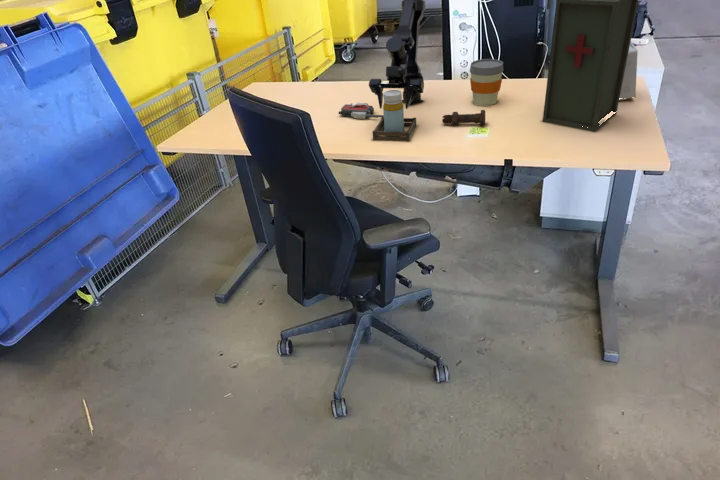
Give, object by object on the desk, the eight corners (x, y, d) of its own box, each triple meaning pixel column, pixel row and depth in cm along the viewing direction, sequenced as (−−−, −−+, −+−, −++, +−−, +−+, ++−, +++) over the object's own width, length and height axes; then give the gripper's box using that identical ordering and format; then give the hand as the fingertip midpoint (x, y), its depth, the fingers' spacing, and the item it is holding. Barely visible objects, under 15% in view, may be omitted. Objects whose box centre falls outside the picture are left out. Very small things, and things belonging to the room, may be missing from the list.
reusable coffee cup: (499, 108, 198) (502, 68, 190) (466, 107, 202) (467, 68, 193) (502, 96, 208) (505, 58, 199) (471, 96, 211) (472, 58, 203)
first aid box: (616, 114, 183) (640, -10, 161) (594, 131, 172) (617, 1, 150) (565, 105, 194) (582, -12, 172) (542, 121, 183) (556, -1, 161)
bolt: (443, 128, 191) (485, 127, 187) (441, 126, 186) (484, 125, 182) (443, 112, 190) (485, 110, 186) (442, 109, 185) (485, 108, 181)
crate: (382, 125, 194) (381, 117, 192) (416, 125, 190) (416, 117, 188) (373, 140, 183) (372, 131, 181) (409, 141, 179) (408, 132, 177)
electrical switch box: (583, 95, 207) (583, 45, 196) (624, 88, 203) (625, 36, 193) (592, 108, 195) (592, 55, 184) (635, 101, 191) (637, 46, 181)
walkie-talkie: (336, 118, 204) (384, 121, 197) (335, 107, 201) (383, 109, 194) (344, 110, 210) (391, 112, 204) (343, 99, 208) (390, 102, 201)
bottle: (398, 138, 182) (396, 97, 173) (381, 136, 185) (378, 95, 177) (407, 131, 186) (406, 90, 178) (390, 129, 190) (388, 88, 181)
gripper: (367, 55, 178) (361, 97, 175) (421, 54, 173) (416, 98, 170) (375, 71, 189) (369, 111, 186) (425, 71, 184) (421, 112, 181)
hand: (393, 108), depth 181 cm, fingers open, 9 cm apart
